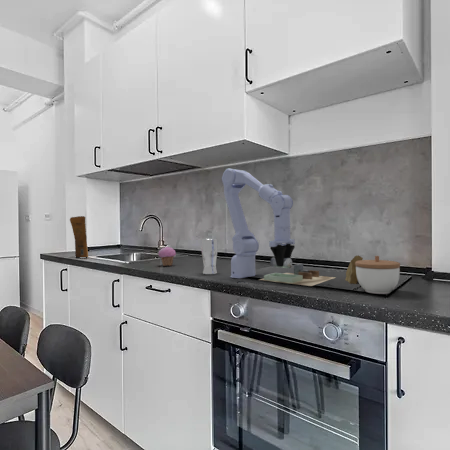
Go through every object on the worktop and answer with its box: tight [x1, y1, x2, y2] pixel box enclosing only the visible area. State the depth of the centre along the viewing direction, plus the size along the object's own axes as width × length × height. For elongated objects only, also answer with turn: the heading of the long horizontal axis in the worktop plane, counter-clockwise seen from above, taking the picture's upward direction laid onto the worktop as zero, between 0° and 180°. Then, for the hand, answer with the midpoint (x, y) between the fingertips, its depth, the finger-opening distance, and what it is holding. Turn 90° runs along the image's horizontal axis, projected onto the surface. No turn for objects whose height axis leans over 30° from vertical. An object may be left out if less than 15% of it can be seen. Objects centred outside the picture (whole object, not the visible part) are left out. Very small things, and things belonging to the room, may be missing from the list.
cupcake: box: [158, 246, 177, 267], centre depth 175 cm, size 9×9×10 cm
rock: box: [345, 254, 364, 285], centre depth 117 cm, size 11×9×10 cm
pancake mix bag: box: [69, 215, 89, 258], centre depth 226 cm, size 7×19×28 cm, turn 46°
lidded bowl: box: [355, 255, 401, 295], centre depth 104 cm, size 13×13×11 cm
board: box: [258, 272, 337, 287], centre depth 124 cm, size 21×20×1 cm
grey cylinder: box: [269, 256, 293, 269], centre depth 122 cm, size 7×4×4 cm, turn 50°
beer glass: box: [201, 238, 218, 275], centre depth 147 cm, size 7×7×15 cm
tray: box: [263, 272, 303, 284], centre depth 122 cm, size 12×8×2 cm, turn 49°
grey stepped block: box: [293, 263, 310, 275], centre depth 127 cm, size 5×4×4 cm
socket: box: [298, 269, 320, 279], centre depth 126 cm, size 5×7×2 cm
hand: (282, 265), depth 122 cm, fingers closed on grey cylinder, 4 cm apart
